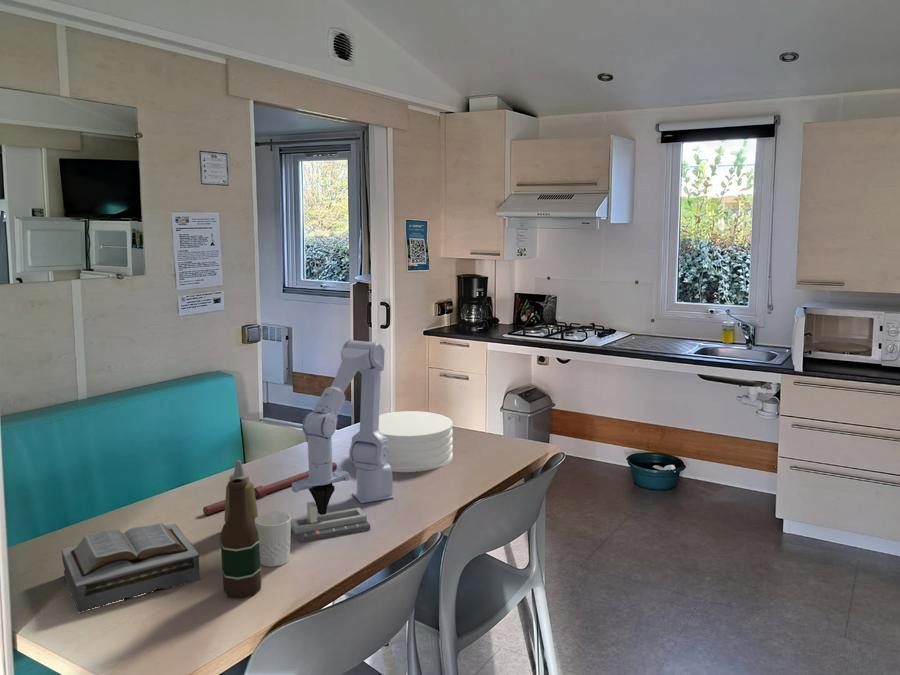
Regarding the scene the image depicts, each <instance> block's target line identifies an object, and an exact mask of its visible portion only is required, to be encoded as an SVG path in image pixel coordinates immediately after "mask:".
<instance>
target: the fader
mask: <svg viewBox="0 0 900 675" xmlns="http://www.w3.org/2000/svg"><path fill="white" fill-rule="evenodd" d="M306 514H307V515H306V517H307V518H306V519H305V525H306V524H312V523H317V522H320V520H319V519H318V518H317V515H318V510H317V506H316V503H315V501H307V502H306Z"/></svg>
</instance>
